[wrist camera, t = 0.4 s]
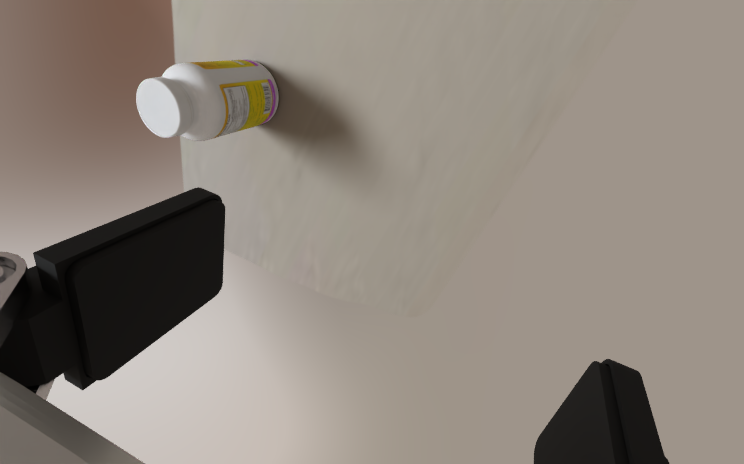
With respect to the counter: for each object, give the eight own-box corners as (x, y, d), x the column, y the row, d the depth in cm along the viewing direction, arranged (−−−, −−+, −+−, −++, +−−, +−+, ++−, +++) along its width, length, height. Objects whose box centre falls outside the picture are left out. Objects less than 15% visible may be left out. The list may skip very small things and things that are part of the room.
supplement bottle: (220, 86, 44) (114, 98, 33) (253, 45, 41) (147, 44, 30) (257, 136, 45) (165, 164, 34) (293, 100, 41) (203, 118, 30)
